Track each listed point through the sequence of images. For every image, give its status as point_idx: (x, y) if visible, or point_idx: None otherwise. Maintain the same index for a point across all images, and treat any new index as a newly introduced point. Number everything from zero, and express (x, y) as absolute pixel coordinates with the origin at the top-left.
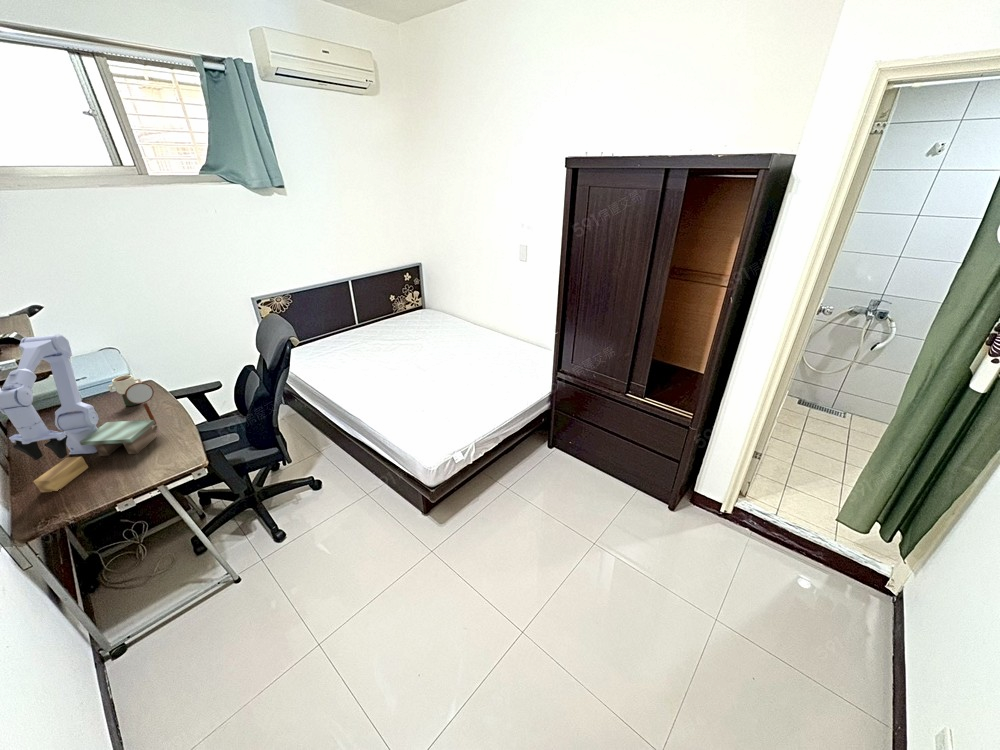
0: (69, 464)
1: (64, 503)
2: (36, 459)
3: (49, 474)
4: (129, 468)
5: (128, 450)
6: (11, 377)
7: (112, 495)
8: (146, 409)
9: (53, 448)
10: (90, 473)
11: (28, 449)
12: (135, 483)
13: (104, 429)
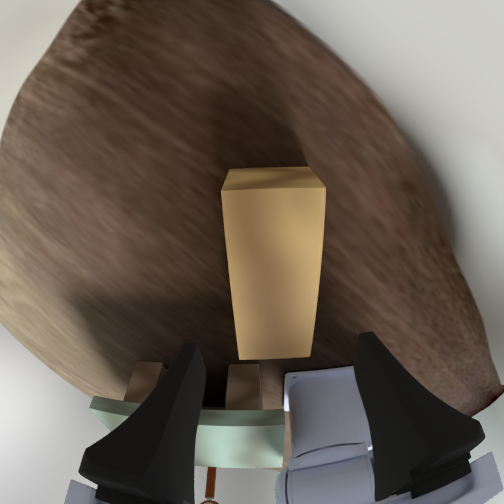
0: (245, 317)
1: (116, 98)
2: (361, 336)
3: (281, 246)
4: (82, 297)
5: (154, 374)
6: None
7: (8, 168)
8: (209, 482)
9: (130, 429)
10: (194, 282)
11: (395, 417)
12: (4, 226)
13: (251, 454)
